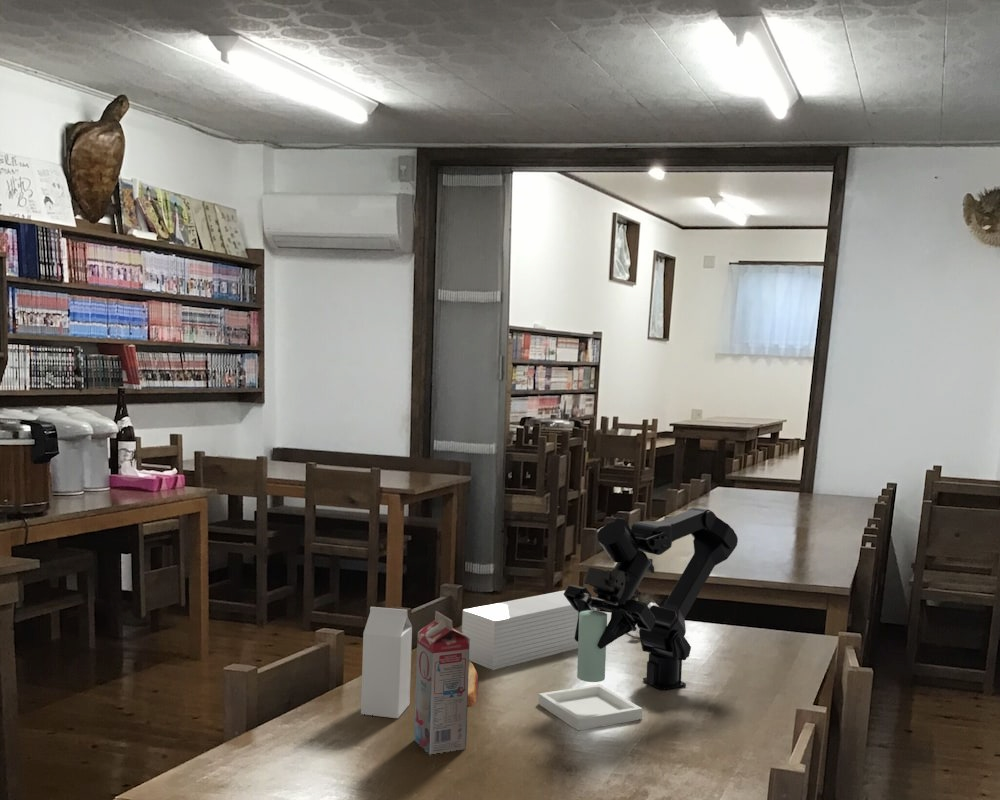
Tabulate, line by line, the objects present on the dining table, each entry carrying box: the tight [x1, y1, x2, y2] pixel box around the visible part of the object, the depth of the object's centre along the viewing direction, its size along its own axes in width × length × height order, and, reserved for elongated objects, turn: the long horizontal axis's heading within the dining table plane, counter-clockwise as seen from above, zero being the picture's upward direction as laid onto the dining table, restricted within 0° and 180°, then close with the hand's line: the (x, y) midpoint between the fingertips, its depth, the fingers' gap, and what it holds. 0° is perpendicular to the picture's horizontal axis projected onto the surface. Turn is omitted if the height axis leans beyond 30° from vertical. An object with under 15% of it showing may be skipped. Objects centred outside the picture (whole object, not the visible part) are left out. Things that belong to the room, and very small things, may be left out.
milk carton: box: [360, 606, 413, 719], centre depth 170 cm, size 7×7×19 cm
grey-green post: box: [576, 610, 608, 683], centre depth 173 cm, size 5×5×12 cm
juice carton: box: [413, 610, 470, 755], centre depth 155 cm, size 7×7×22 cm
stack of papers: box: [461, 589, 598, 671], centre depth 210 cm, size 32×11×11 cm, turn 132°
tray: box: [537, 683, 643, 731], centre depth 173 cm, size 14×14×2 cm
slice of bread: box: [467, 660, 479, 708], centre depth 184 cm, size 18×18×4 cm
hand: (587, 643), depth 172 cm, fingers closed on grey-green post, 5 cm apart
